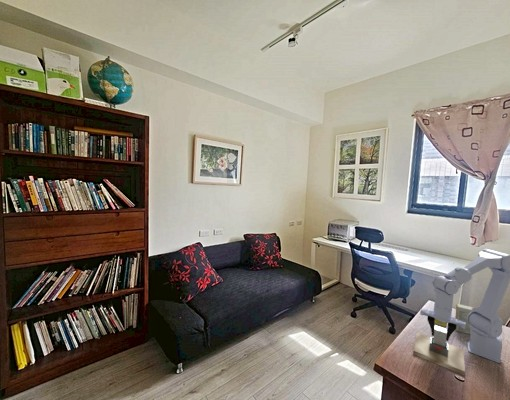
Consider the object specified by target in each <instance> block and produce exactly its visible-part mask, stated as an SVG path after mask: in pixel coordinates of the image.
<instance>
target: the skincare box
mask: <svg viewBox="0 0 510 400" xmlns="http://www.w3.org/2000/svg"><path fill="white" fill-rule="evenodd" d="M455 307H456V308H455V317H454V318H455V319H458V320H460V321H463V322H465V324H466V325H465V329H464V328H461V327H460V326H456V330H455V332H456V331H457V332H460V333H463V334H464V333H465V334H468V335H471V327H470V324H469V323H468V322H467V315H468V314H469V313H470V312H471V311H472V308H474V307H473V306H469V305H465V304H460V303H456V305H455Z"/></svg>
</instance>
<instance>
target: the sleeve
mask: <svg viewBox="0 0 510 400" xmlns="http://www.w3.org/2000/svg"><path fill="white" fill-rule="evenodd" d="M430 337H431V338H430V347H429V350H430V351H433V352H435V353H438V354H440V355H443V356H445V357H448V351H449V349H448V344H449V341H446V346H445V348H443V347H440V346H438V345H435V344H433V338H434V336H430Z"/></svg>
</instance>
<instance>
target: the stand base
mask: <svg viewBox="0 0 510 400" xmlns="http://www.w3.org/2000/svg"><path fill="white" fill-rule="evenodd" d="M431 337H432V336H428V335H425V334H423V333H420V332H416V337H415V342H414V347H413V353H412V354H413V355H414V356H418V357H419V358H422V359H424V360H427V361H428V362H431V363H434V364H437V366H438V365H439V366H441V367H444V368H445V369H449V370H450V371H453V372H455V373H458V374H460V375H463V376H466V366H465V357H464V348H461V347H458V346H455V345H453V344H451V343H448V349H449V351H448V357H445V356H443V355H440V354H438V353H435V352H433V351H430V350H429V347H430V338H431Z"/></svg>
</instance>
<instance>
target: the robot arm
mask: <svg viewBox="0 0 510 400" xmlns="http://www.w3.org/2000/svg"><path fill="white" fill-rule="evenodd" d="M487 268H488V269H490V270H491V272H492V275H491V278H490V280H489V282H488V285H487V288H486V291H485V293H484V296H483V298H482V301H481V303H480V306H478V307H477V306H476V307H473V308H472V311H471V312H470V313H469V314H468V315H467V322H468V323H469V324H470V327H471V334H469V335H470V337H469V341H467V342H466V343H467V349H468V352H469V353H471V354H473V355H476V356H479V357H482V358H484V359H488V360H490V361H493V362H495V363H498V364H500V363H501V358H502V352H503V351H502V350H503V340H502V337H500V336H501V335H502V333H503V325H504V321H503V320H502V319H501V317H500V316H499V315H498V314H499V313H498V312H499V311H500V308H501V305H502V302H503V300H504V297H505V294H506V292H507V290H508V288H509V285H510V254H509V253H508V254H507V253H505V252H500V251H497V250H492V249H491V248H483V249H482V250H481V251H480V252H479V251H478V255H477V257H476V258H475V259H474V260H472V261H470V263H468V264H467V265H465V266H464V267H460V266H458V267H455V268H454V269H453V270H451V271H450V272H449V271H448V273H446V274H444V275H438V276H436V277H434V279H433V281H432V283H431V284H432V285H433V287H434V292H435V293H434V294H435V295H434V296H435V297H434V302H433V303H434V304H433V310H428V309H423V308H420V312H419V315H421V316H426V317H427V322H428V324H429V328H430V331H431V337H434V328H435V325H434V323H435V319H438V320H439V321H441V322H447V328H446V329H447V337H446V342H449V339H450V337H451V335H452V334H453V333H454V332H456V326H460V327H461V328H464V329H465V325H466V324H465V322H463V321H460V320H458V319H455V317H453V316H452V312H453V303H454V295H456V294H457V293H458V292H459V290H460V289H461V286H463V285H464V284H465V283H468V282H469V281H470V280H472V279H473V278H472V275H474V274H476V273H479V272H481V271H482V270H483V271H484V269H487Z"/></svg>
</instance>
